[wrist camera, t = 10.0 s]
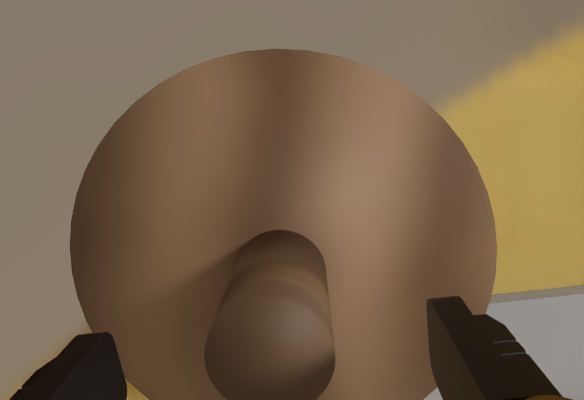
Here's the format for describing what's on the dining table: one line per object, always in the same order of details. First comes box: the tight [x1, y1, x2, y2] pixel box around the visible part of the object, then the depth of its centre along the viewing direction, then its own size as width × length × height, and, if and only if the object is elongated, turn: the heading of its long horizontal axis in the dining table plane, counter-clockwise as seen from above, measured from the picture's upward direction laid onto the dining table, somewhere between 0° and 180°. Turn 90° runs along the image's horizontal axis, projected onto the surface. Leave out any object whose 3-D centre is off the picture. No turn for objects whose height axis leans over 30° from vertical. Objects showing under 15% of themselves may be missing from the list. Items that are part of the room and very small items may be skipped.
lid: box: [70, 49, 497, 400], centre depth 14 cm, size 15×15×6 cm
